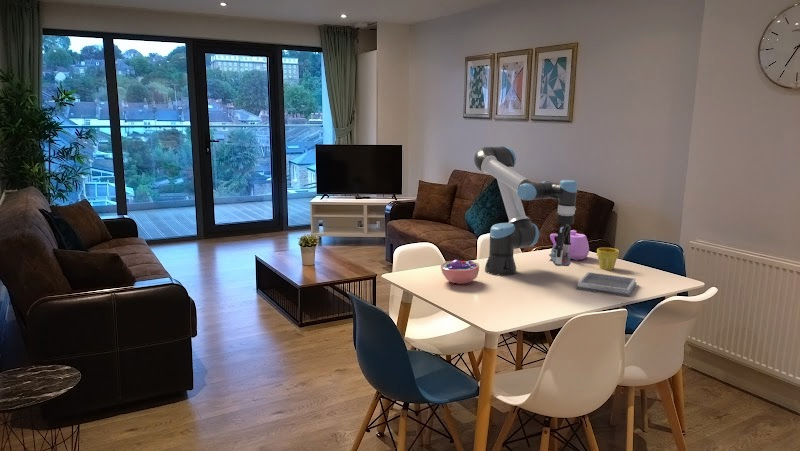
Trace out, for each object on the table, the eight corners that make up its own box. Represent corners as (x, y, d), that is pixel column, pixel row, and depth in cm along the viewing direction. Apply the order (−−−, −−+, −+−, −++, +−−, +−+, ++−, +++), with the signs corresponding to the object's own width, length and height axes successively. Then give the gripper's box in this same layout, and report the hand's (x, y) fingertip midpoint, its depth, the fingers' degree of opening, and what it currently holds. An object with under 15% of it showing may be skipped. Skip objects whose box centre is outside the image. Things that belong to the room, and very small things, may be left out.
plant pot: (607, 272, 280) (609, 252, 278) (591, 267, 288) (592, 248, 287) (621, 269, 285) (623, 250, 283) (605, 265, 294) (606, 246, 292)
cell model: (487, 281, 259) (488, 257, 257) (461, 290, 244) (462, 265, 242) (457, 274, 270) (458, 251, 268) (431, 283, 255) (432, 258, 253)
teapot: (553, 251, 322) (554, 226, 320) (591, 256, 312) (593, 230, 309) (540, 259, 303) (542, 232, 301) (580, 265, 293) (583, 236, 290)
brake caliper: (577, 263, 254) (562, 241, 254) (555, 275, 258) (541, 254, 257) (575, 257, 265) (561, 236, 265) (555, 269, 269) (540, 248, 268)
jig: (576, 289, 249) (576, 282, 249) (586, 277, 268) (587, 271, 268) (629, 297, 239) (629, 290, 238) (636, 284, 258) (636, 278, 257)
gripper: (568, 219, 245) (563, 268, 249) (580, 211, 265) (575, 256, 269) (550, 217, 249) (546, 265, 253) (563, 209, 268) (559, 254, 273)
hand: (561, 261), depth 261 cm, fingers closed on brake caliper, 11 cm apart
